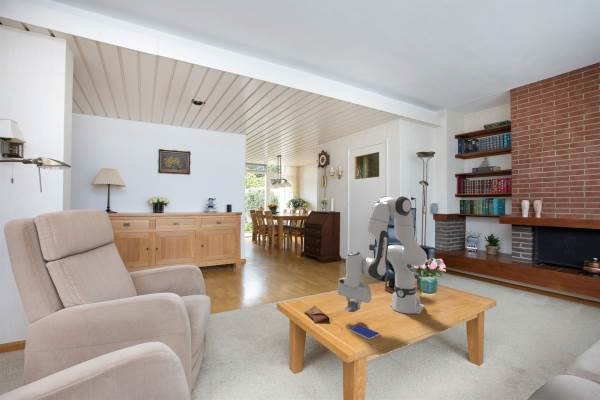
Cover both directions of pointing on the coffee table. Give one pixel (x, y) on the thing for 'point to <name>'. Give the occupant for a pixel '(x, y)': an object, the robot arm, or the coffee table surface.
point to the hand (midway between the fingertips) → (354, 306)
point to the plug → (352, 306)
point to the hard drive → (364, 332)
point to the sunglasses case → (317, 315)
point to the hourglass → (392, 280)
